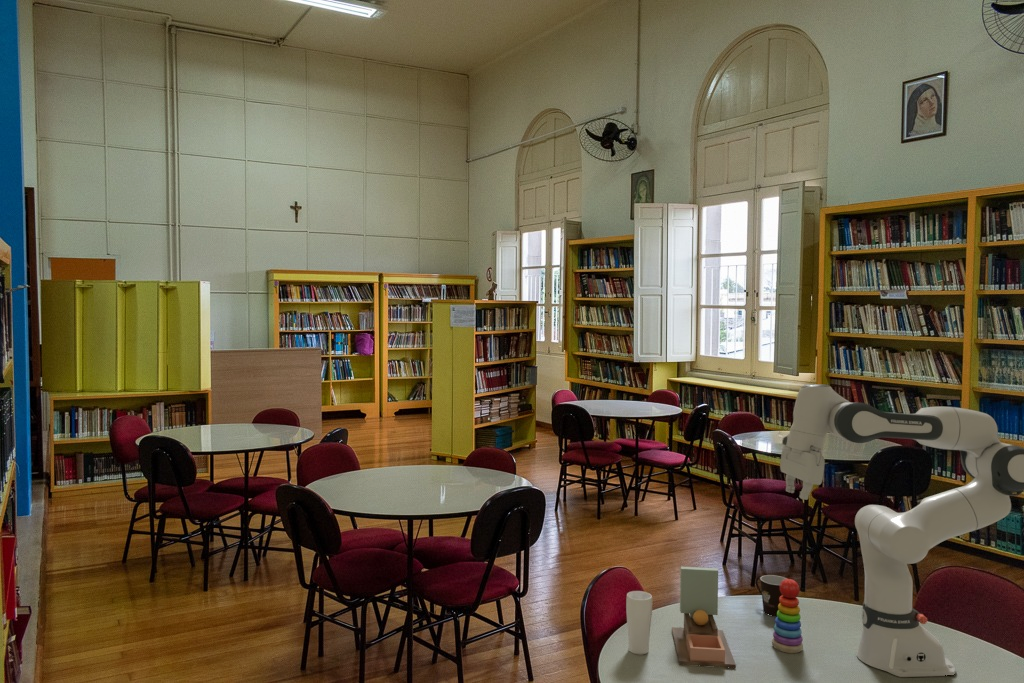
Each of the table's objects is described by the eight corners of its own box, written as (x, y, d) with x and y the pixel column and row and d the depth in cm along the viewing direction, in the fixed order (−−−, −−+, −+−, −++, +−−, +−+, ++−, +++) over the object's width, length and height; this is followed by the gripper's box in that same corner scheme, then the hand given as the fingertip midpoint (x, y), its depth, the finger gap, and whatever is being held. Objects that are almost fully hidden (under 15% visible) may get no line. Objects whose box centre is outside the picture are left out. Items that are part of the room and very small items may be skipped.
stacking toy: (766, 647, 198) (768, 579, 198) (779, 638, 204) (780, 571, 204) (795, 657, 193) (797, 586, 193) (807, 647, 199) (809, 578, 198)
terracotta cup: (719, 648, 195) (719, 635, 195) (724, 663, 187) (725, 650, 187) (686, 646, 196) (686, 633, 196) (690, 661, 188) (690, 647, 188)
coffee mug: (794, 618, 218) (794, 585, 218) (765, 618, 218) (765, 584, 218) (780, 603, 230) (781, 572, 230) (752, 603, 230) (753, 571, 230)
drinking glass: (651, 658, 192) (652, 601, 191) (625, 655, 193) (625, 598, 193) (651, 646, 198) (652, 591, 198) (626, 644, 200) (627, 589, 199)
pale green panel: (716, 616, 206) (717, 568, 205) (717, 619, 204) (718, 570, 203) (679, 614, 207) (680, 566, 207) (680, 617, 205) (681, 568, 205)
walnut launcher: (722, 633, 207) (722, 612, 207) (735, 668, 186) (736, 644, 186) (671, 630, 209) (672, 609, 209) (679, 664, 188) (679, 640, 188)
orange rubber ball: (707, 622, 203) (707, 607, 202) (709, 628, 199) (709, 613, 199) (692, 621, 203) (692, 607, 203) (694, 627, 199) (694, 612, 199)
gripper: (834, 451, 184) (824, 505, 183) (802, 441, 204) (793, 491, 204) (809, 446, 184) (799, 500, 183) (780, 437, 204) (771, 486, 204)
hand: (796, 495), depth 194 cm, fingers open, 8 cm apart
